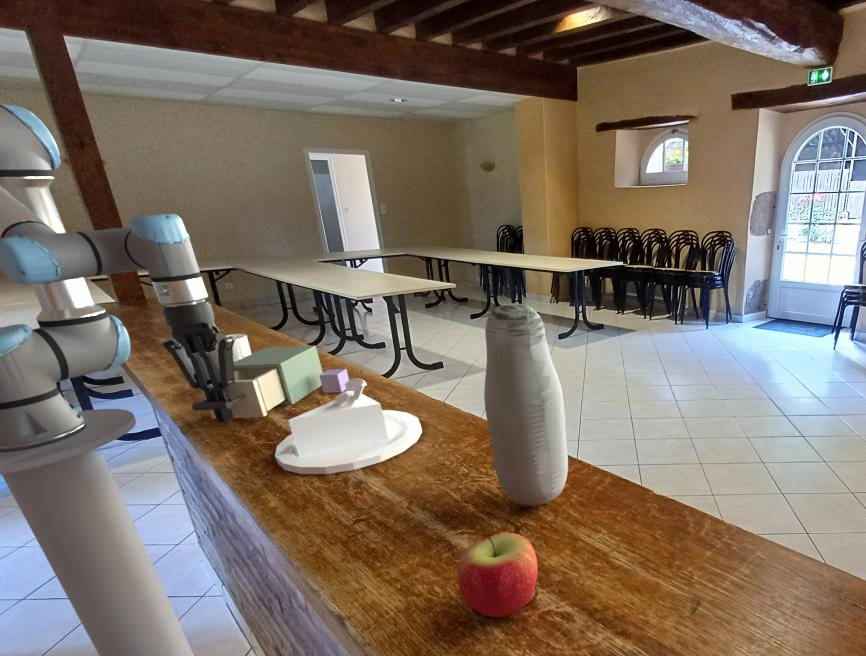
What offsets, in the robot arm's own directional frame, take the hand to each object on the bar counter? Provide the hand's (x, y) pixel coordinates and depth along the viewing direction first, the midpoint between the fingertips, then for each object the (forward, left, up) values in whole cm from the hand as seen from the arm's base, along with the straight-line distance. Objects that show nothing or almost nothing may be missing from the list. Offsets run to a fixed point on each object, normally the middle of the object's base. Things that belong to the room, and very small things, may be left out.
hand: (225, 419), depth 111 cm
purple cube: (+12, +22, -2) cm, 25 cm away
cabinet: (0, +20, -2) cm, 20 cm away
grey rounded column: (+68, -30, -2) cm, 74 cm away
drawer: (0, +7, -1) cm, 7 cm away
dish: (+30, -9, -2) cm, 32 cm away
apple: (+68, -52, -2) cm, 86 cm away
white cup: (-23, +38, -2) cm, 44 cm away
